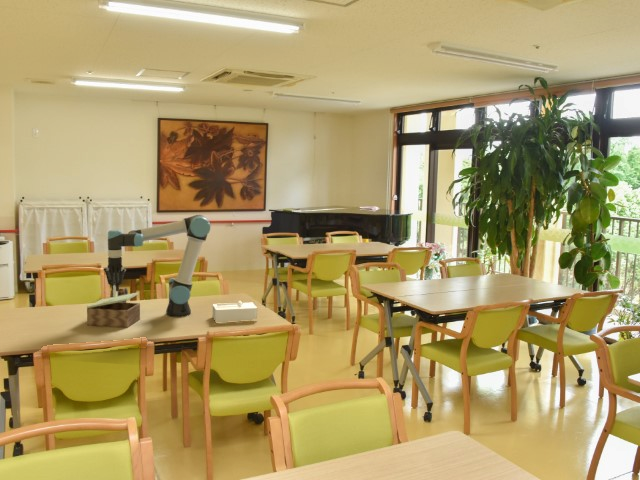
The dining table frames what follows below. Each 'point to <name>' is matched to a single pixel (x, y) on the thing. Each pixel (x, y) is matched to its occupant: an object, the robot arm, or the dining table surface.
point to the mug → (120, 293)
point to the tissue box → (234, 311)
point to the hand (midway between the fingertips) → (115, 296)
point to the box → (114, 315)
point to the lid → (113, 300)
